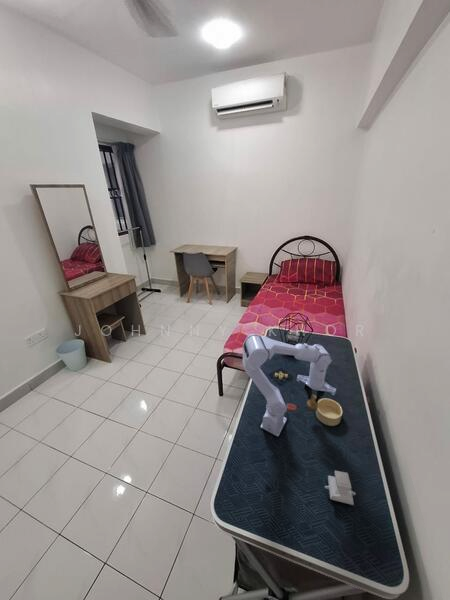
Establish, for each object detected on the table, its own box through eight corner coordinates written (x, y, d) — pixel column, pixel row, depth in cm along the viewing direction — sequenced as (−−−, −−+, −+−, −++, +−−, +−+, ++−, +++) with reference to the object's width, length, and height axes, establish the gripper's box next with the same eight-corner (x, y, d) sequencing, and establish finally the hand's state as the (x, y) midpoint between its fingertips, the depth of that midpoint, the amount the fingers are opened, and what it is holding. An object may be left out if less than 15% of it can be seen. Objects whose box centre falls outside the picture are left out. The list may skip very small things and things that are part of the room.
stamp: (325, 502, 75) (329, 488, 71) (322, 479, 81) (326, 465, 77) (356, 510, 73) (362, 495, 69) (351, 486, 79) (356, 471, 75)
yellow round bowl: (337, 430, 96) (339, 422, 94) (312, 418, 101) (313, 411, 99) (342, 412, 103) (344, 404, 101) (319, 402, 109) (320, 394, 107)
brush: (316, 412, 97) (317, 403, 95) (305, 408, 99) (306, 398, 97) (319, 405, 100) (320, 395, 98) (308, 400, 103) (309, 391, 100)
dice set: (288, 377, 124) (288, 375, 123) (280, 382, 121) (280, 379, 121) (281, 372, 128) (281, 369, 127) (273, 376, 125) (274, 373, 124)
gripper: (339, 374, 91) (334, 400, 97) (301, 361, 99) (299, 386, 105) (335, 387, 86) (330, 412, 92) (296, 372, 94) (293, 397, 100)
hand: (313, 399), depth 98 cm, fingers closed on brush, 2 cm apart
